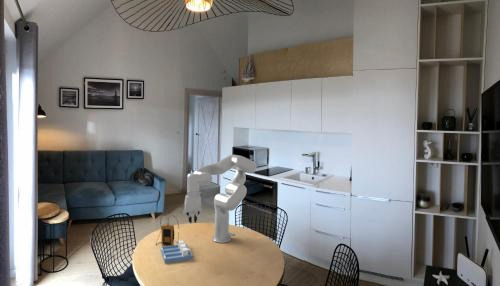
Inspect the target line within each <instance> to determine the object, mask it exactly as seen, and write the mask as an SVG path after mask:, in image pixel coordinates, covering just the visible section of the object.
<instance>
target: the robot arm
mask: <svg viewBox="0 0 500 286" xmlns="http://www.w3.org/2000/svg"><path fill="white" fill-rule="evenodd" d="M232 169H235V174H234V176H233V177H232V178H231V180H230V181H229V182H228V183H227V184H226V186H225V189H224V192H225V193H223V192H221V193H220V192H219V193H217V194H216V195H215V196H214V198H213V205H214V236H212V238H211V240H212V241H213V242H215V243H223V244H225V243H227V242H228V243H229V242H230V241H231V240H232V238H231V237H236V232H230V231H229V230H230V223H229V222H230V212H232V211H235V210H236V209H237V208H238V206H239V205H240V204H241V202H242V201H243V200H244V198H245V197H246V195H247V191H248V190H247V187H246V186H245V185H244V184H245V183H246V179H247V178H246V173H247V174H254V173H255V172H256V170H257V164H256V162H255V161H253V160H251V159H250V158H248V157H245V156H242V155H237V154H229V155H227V156H226V157H224V158H222V159H221V160H219V161H217V162H213V163H211V164H208V165H205V166H202V167H200V168H198V169H197V170H195V171H194V172H193V173H188V174H187V176H186V181H187V182H186V184H187V185H186V195H185V198H184V206H183V210H182V213H183V214H184V215H186V216H188V222H189V223H190V224H192V223H193V222H194V223H197V221H198V216H199V215H200V214H201V213H202V212H203V211H204V210H203V208H202V198H201V194H202V190H200V185H203V186H206V185H209V184H211V183H212V182H213V176H218V175H219V176H220V175H223V174H225V173H227V172H228V171H230V170H232ZM192 213H194V215H193V220H192ZM192 221H193V222H192Z"/></svg>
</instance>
